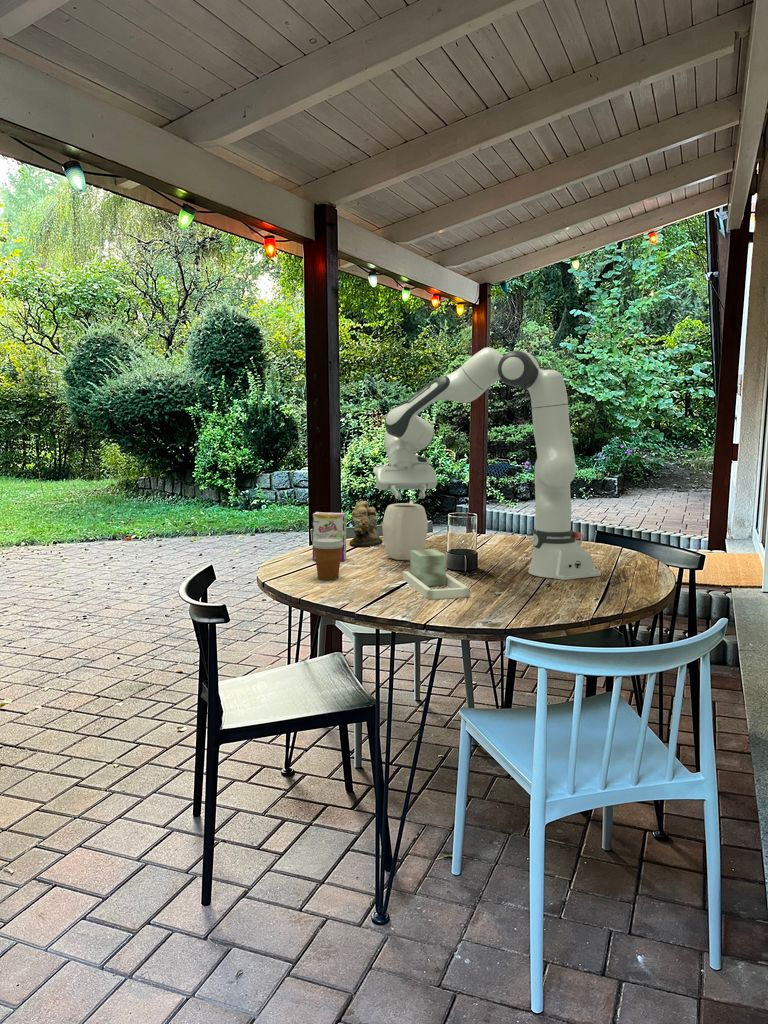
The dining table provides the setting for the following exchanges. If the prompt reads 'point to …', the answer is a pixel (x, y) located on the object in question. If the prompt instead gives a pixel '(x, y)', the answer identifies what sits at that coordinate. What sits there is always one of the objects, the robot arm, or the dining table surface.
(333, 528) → the candy bar box
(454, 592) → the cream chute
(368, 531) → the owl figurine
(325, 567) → the disposable coffee cup
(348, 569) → the dining table surface
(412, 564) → the sage block
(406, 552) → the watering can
